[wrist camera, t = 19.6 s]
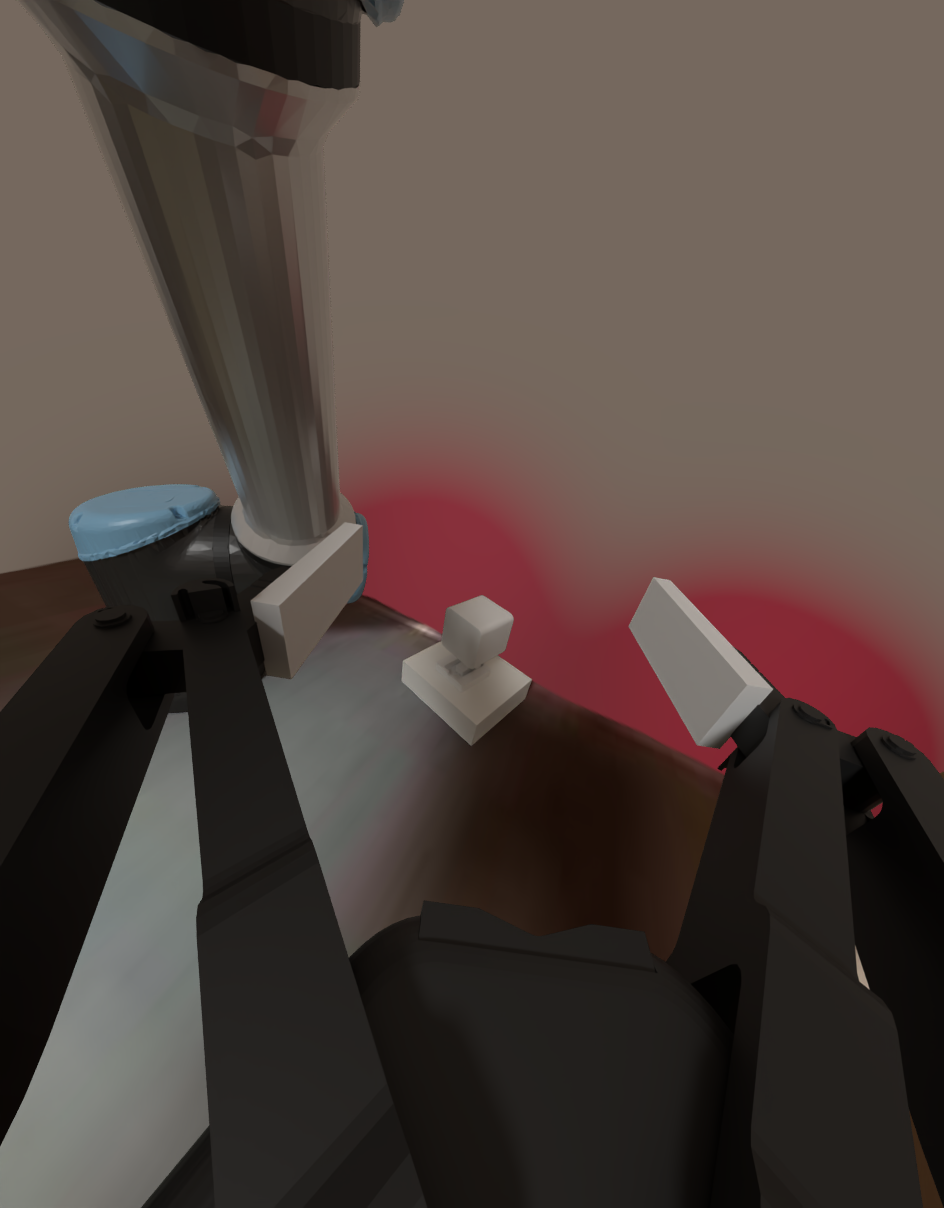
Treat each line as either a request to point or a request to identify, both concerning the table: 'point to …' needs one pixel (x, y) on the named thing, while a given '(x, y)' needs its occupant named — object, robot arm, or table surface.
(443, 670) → the security camera
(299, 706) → the table surface
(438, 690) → the plinth
